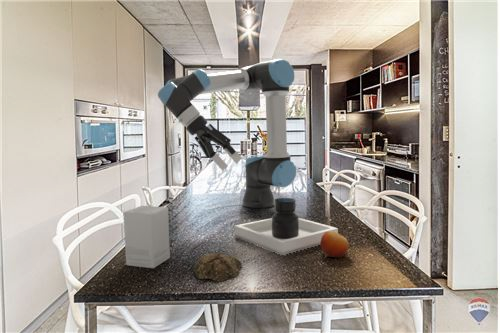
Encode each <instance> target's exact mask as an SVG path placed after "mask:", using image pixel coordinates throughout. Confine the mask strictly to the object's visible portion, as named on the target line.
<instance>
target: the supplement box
mask: <svg viewBox="0 0 500 333" xmlns="http://www.w3.org/2000/svg"><path fill="white" fill-rule="evenodd" d="M122 214H123V229H124V230H123V231H124V245H125V248H124V249H125V263H126V266H128V267H129V266H130V267H140V268H147V269H155V268H156V267H158V266H159V265H161V264H163V263H164V262H166V261H167V260H169V259H170V258H171V250H170V248H171V247H170V229H169V227H170V226H169V223H170V222H169V221H170V220H169V206H167V207H166V206H151V205H140V206H138V207H137V206H136V207H135V208H132V209H128V210H126V211H123V212H122Z"/></svg>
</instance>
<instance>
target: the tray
mask: <svg viewBox="0 0 500 333" xmlns="http://www.w3.org/2000/svg"><path fill="white" fill-rule="evenodd" d="M333 231H334V232H336V233H339V228H338V227H334V226H331V225H327V224H325V223H324V224H323V223H320V222H316V221H312V220H310V219H309V220H308V219H305V218H301V217H299V235H298V236H297V237H294V238H290V239H281V238H276V237H274V236H273V235H272V217H271V218H270V217H269V218H265V219H261V220H255V221H251V222H246V223H240V224H236V225H234V238H236V237H237V238H236V239H239V238H240V239H239V240H241V239H242V241H243V240H245V241H244V242H246V241H248V242H250V243H249V244H251V243H253V244H255V245H254V246H256V245H258V246H260V247H259V248H261V247H263V248H265V249H264V250H266V249H268V250H270V251H269V252H271V251H272V252H271V253H273V252H275V253H274V254H276V253H277V254H276V255H278V254H280V255H279V256H281V255H284V256H287V255H286V254H288V255H290V254H289V253H291V254H294V253H293V252H295V253H297V252H296V251H298V252H301V251H300V250H302V251H305V250H308V249H307V248H309V249H312V248H311V247H313V248H315V246H316V247H319V246H318V245H320V242H321V238H322V236H323V234H324V233H325V232H333ZM248 242H247V243H248ZM253 244H252V245H253ZM258 246H257V247H258ZM320 246H321V245H320ZM263 248H262V249H263ZM304 249H305V250H304ZM268 250H267V251H268Z"/></svg>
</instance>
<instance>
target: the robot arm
mask: <svg viewBox="0 0 500 333" xmlns="http://www.w3.org/2000/svg"><path fill="white" fill-rule="evenodd" d="M294 81H295V70H294V68H293V66H292V64H290V62H289V61H288V60H286V59H284V58H277V59H272V60H267V61H262V62H258V63H256V64H253V65H249V66H245V67H240V68H238V69H237V70H234V71H225V72H218V73H217V72H216V73H210V74H209V73H207V72H206V71H205V70H203V69H201V68H198V69H196V70H194V71H192V73H191V74H189V75H184V76H180V77H177V78H176V77H175V78H171V79H169V80H168V81H167V82H166V83H165V85H163V87H161V88H160V89H159V91H158V92H157V97H158V99H159V100H160V102H161V103H162V104H163V106H165V107H166V108H167V109H168V110H169V111H170V113H171V114H172V115H173V116H174V117H175V118H176V119H177V120H178V122H177V123H180V124H181V125H182V126H183V127H186V128H185V130H186V131H187V132H189V134H190V135H191V136H194V135H196V136H195V137H194V140H195V141H196V142H197V143H198V145H199V147H200V148H201V150H202V151H203V154H204V155H205V158H207V159H209V158H210V159H211V160H212V161H213V162H214V163H215V164H216V166H218V168H219V169H220V171H222V172H224V171H225V170H226V169H227V168H228V164H227V163H226V162H225V161H224V160H223V158H221V156H220V155H218V153H217V152H216V151H215V150H214V147H213V144H212V142H213V143H215V144H216V145H218V146H219V147H222V150H224V152H225V153H226V154H227V155H228V156H229V157H230V158H231V159H232V161H233V162H234V163H235V164H238V163H239V162H240V161H241V160H242V159H243V157H242V156H241V155H240V154H239V153H238V152H237V151H236V150H235V148H234V147H233V146H232V145H231V142H232V140H231V139H230V138H229V137H227V135H225V134H224V133H222V132H220V131H219V130H218V129H217V128H216V127H215V126H213V125H212V124H211V123H209V124H208V121H207V119H206V118H205V117H204V116H203V115H202V114H201V115H200V113H201V112H200V111H199V110H198V109H197V107H195V106H194V104H193V103H191V101H193V100H194V99H195V98H196V97H198V96H199V95H204V94H205V95H206V94H211V93H216V92H217V93H218V92H219V93H220V92H224V91H232V90H241V91H247V90H261V94H262V95H263V96H264V97H265V117H266V118H265V120H266V123H265V124H266V126H265V127H266V151H267V152H266V153H265V154H264V155H257V156H249V157H247V158H246V159H245V165H244V166H245V191H244V194H243V198H242V201H241V202H242V204H241V205H242V207H245V208H252V209H265V208H270V207H275V198H274V195H273V191H272V186H273V187H277V188H286V187H288V186H291V184H293V182H294V181H295V178H296V176H297V167H296V165H295V163H294V162H292V160H291V155H290V153H289V152H288V148H287V147H288V146H287V144H288V142H287V139H288V138H287V136H288V135H287V104H286V103H287V99H286V98H287V95H288V94H289V93H290V86H291V85H292V84H293V82H294ZM207 124H208V125H207Z"/></svg>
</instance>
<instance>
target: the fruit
mask: <svg viewBox="0 0 500 333" xmlns="http://www.w3.org/2000/svg"><path fill="white" fill-rule="evenodd" d="M349 247H350V242H348V239H347V237H345V236H343V235H342V234H341V233H339V232H338V233H336V232H334V231H333V232H325V233H324V234H323V236H322V238H321V242H320V249H321V251H322V253H323V254H324V257H323V258H324V259H326V258H327V257H332V258H343V257H344V256H345V255H346V254H347V252H348V250H349Z"/></svg>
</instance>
